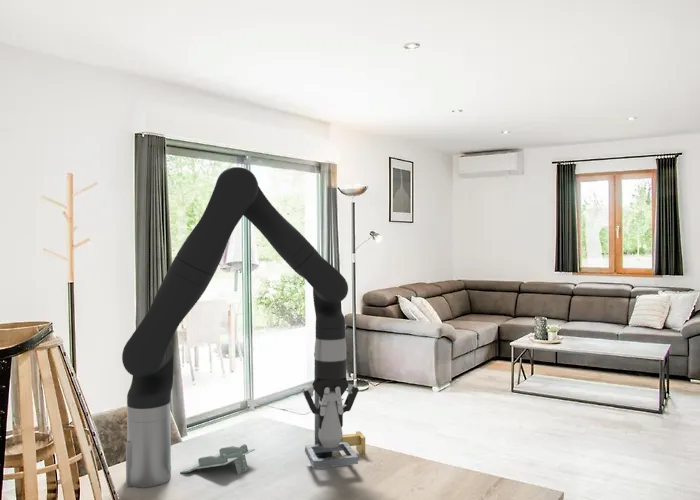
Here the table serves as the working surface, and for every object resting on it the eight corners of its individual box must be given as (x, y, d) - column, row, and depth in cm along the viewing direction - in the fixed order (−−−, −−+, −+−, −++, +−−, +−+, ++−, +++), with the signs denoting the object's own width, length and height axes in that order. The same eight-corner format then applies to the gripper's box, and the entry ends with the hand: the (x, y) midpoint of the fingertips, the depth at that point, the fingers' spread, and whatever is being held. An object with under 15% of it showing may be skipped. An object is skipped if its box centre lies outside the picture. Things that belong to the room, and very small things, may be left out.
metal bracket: (261, 438, 141) (219, 458, 128) (266, 462, 140) (225, 485, 127) (218, 445, 148) (174, 465, 135) (223, 468, 147) (179, 490, 134)
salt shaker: (332, 439, 140) (332, 385, 140) (347, 445, 136) (347, 390, 136) (313, 444, 137) (313, 389, 137) (328, 451, 132) (328, 394, 132)
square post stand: (313, 478, 130) (313, 381, 130) (300, 451, 147) (300, 365, 147) (378, 471, 134) (378, 377, 134) (358, 446, 151) (358, 362, 151)
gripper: (303, 361, 131) (304, 437, 131) (363, 358, 134) (363, 432, 134) (298, 355, 138) (298, 427, 138) (355, 352, 142) (355, 422, 142)
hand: (330, 429), depth 136 cm, fingers closed on salt shaker, 3 cm apart
